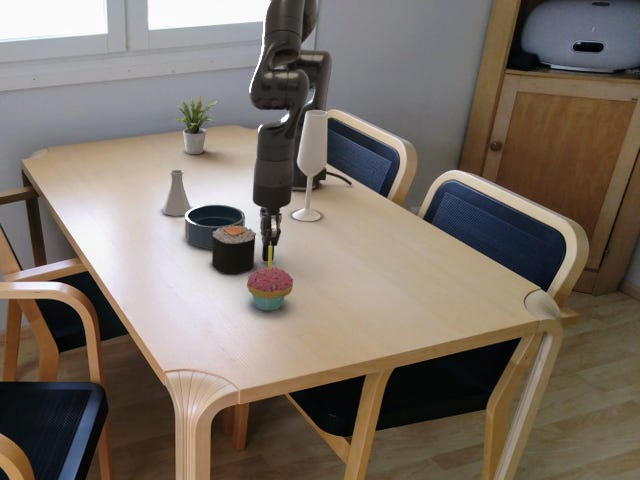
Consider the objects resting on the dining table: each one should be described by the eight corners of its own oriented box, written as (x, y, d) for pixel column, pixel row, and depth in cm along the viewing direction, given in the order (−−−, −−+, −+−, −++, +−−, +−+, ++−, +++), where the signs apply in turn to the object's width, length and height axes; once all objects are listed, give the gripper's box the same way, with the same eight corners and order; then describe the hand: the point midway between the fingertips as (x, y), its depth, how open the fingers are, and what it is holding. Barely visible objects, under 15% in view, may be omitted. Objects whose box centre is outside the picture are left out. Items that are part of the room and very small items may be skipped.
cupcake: (242, 295, 131) (244, 237, 124) (285, 292, 131) (290, 235, 125) (250, 317, 124) (254, 257, 117) (296, 314, 124) (302, 254, 117)
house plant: (220, 159, 200) (222, 102, 191) (173, 160, 201) (173, 103, 191) (217, 145, 212) (219, 90, 203) (173, 146, 212) (172, 91, 203)
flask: (189, 217, 164) (189, 177, 158) (160, 216, 165) (159, 175, 160) (194, 206, 170) (194, 167, 164) (165, 205, 171) (164, 166, 165)
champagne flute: (323, 212, 164) (335, 110, 151) (316, 222, 159) (328, 117, 146) (296, 209, 167) (305, 108, 153) (288, 218, 162) (297, 115, 148)
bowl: (240, 226, 159) (241, 203, 156) (246, 250, 148) (248, 226, 145) (184, 227, 159) (184, 205, 156) (186, 251, 148) (186, 228, 145)
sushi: (205, 263, 143) (206, 227, 138) (238, 254, 146) (240, 219, 142) (226, 278, 137) (227, 241, 132) (260, 268, 140) (262, 232, 136)
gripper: (298, 190, 126) (290, 274, 136) (287, 167, 137) (280, 246, 146) (257, 191, 126) (253, 275, 136) (250, 168, 137) (246, 247, 147)
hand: (267, 260), depth 141 cm, fingers closed
